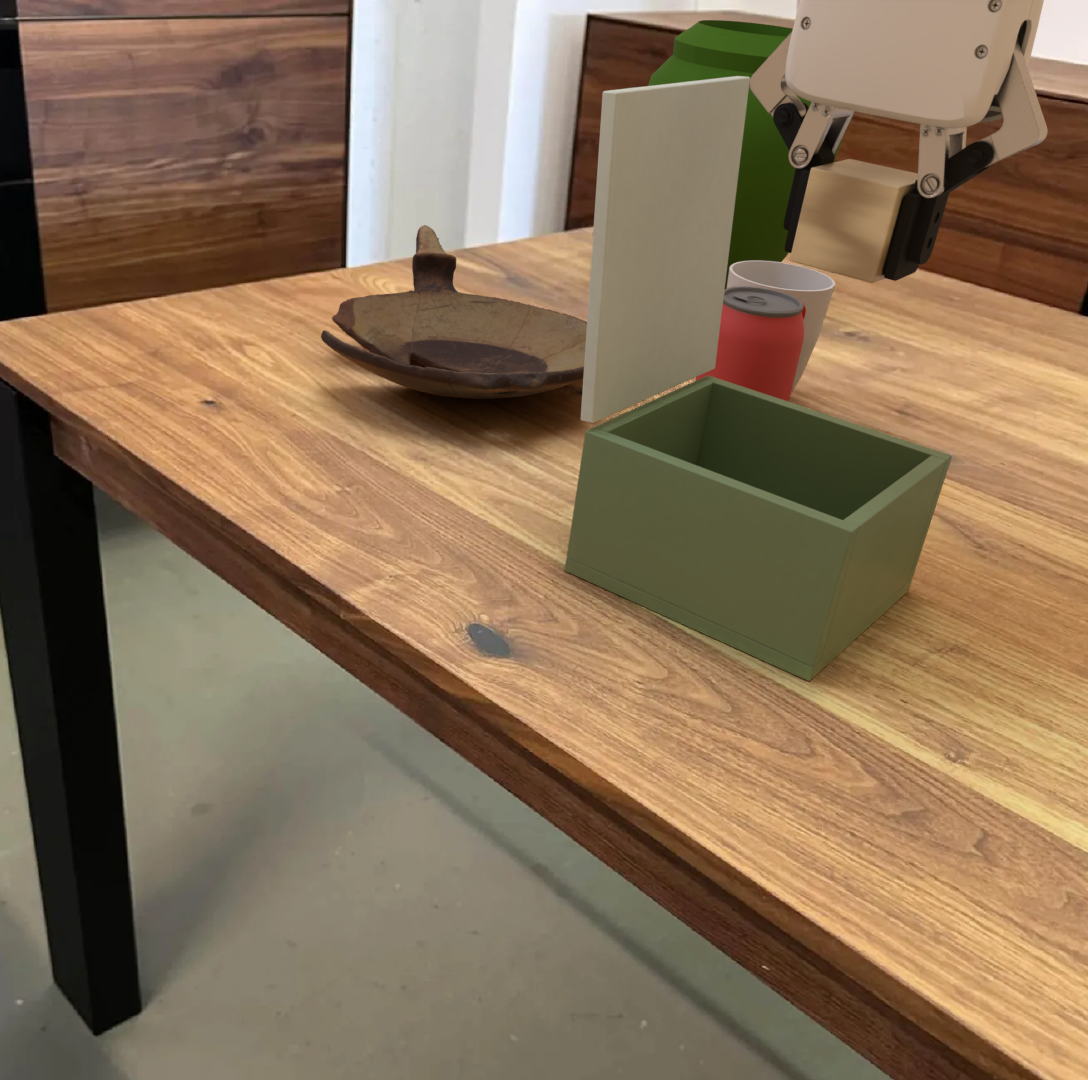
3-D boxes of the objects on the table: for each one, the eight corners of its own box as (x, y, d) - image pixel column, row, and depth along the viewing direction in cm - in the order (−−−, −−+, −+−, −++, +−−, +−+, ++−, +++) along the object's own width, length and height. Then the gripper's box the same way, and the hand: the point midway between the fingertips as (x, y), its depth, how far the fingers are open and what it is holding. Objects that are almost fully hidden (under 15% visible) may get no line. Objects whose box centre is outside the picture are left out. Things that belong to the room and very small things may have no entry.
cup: (688, 395, 98) (712, 272, 93) (729, 371, 104) (754, 254, 99) (782, 424, 95) (812, 297, 89) (819, 398, 100) (850, 277, 95)
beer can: (695, 437, 91) (727, 277, 85) (782, 459, 89) (821, 297, 82) (668, 467, 86) (700, 299, 79) (759, 491, 84) (799, 321, 77)
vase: (823, 328, 117) (892, 52, 104) (622, 310, 116) (667, 29, 103) (780, 272, 134) (835, 27, 121) (604, 256, 133) (640, 7, 120)
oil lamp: (285, 426, 86) (286, 320, 82) (370, 303, 112) (374, 217, 108) (599, 468, 85) (616, 362, 81) (613, 334, 110) (626, 248, 106)
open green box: (908, 591, 73) (952, 455, 68) (809, 681, 64) (852, 531, 59) (682, 502, 81) (708, 374, 76) (563, 570, 72) (584, 430, 67)
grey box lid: (750, 76, 68) (737, 75, 68) (616, 92, 58) (602, 90, 59) (715, 368, 76) (703, 366, 76) (592, 424, 66) (579, 420, 67)
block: (908, 269, 62) (934, 177, 59) (873, 283, 59) (899, 187, 56) (826, 247, 64) (848, 158, 62) (788, 260, 61) (810, 167, 58)
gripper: (1193, -147, 50) (1041, 292, 60) (816, -174, 58) (736, 214, 68) (1149, -163, 45) (991, 321, 54) (743, -190, 53) (667, 233, 63)
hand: (850, 258), depth 61 cm, fingers closed on block, 4 cm apart
